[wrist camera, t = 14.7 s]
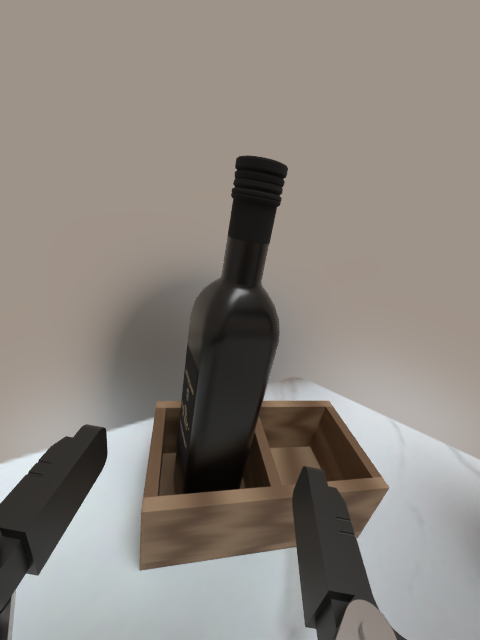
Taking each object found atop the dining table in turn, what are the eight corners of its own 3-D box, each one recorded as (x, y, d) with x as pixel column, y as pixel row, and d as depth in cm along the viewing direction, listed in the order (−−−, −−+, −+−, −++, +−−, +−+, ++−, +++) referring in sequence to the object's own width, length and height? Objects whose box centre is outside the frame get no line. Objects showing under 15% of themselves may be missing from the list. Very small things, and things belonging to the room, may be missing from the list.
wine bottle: (180, 531, 23) (233, 140, 11) (171, 472, 28) (202, 153, 16) (238, 512, 26) (333, 170, 14) (220, 461, 30) (280, 174, 18)
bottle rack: (311, 444, 36) (328, 400, 33) (357, 537, 26) (389, 487, 23) (154, 452, 31) (156, 401, 28) (139, 570, 21) (141, 512, 18)
